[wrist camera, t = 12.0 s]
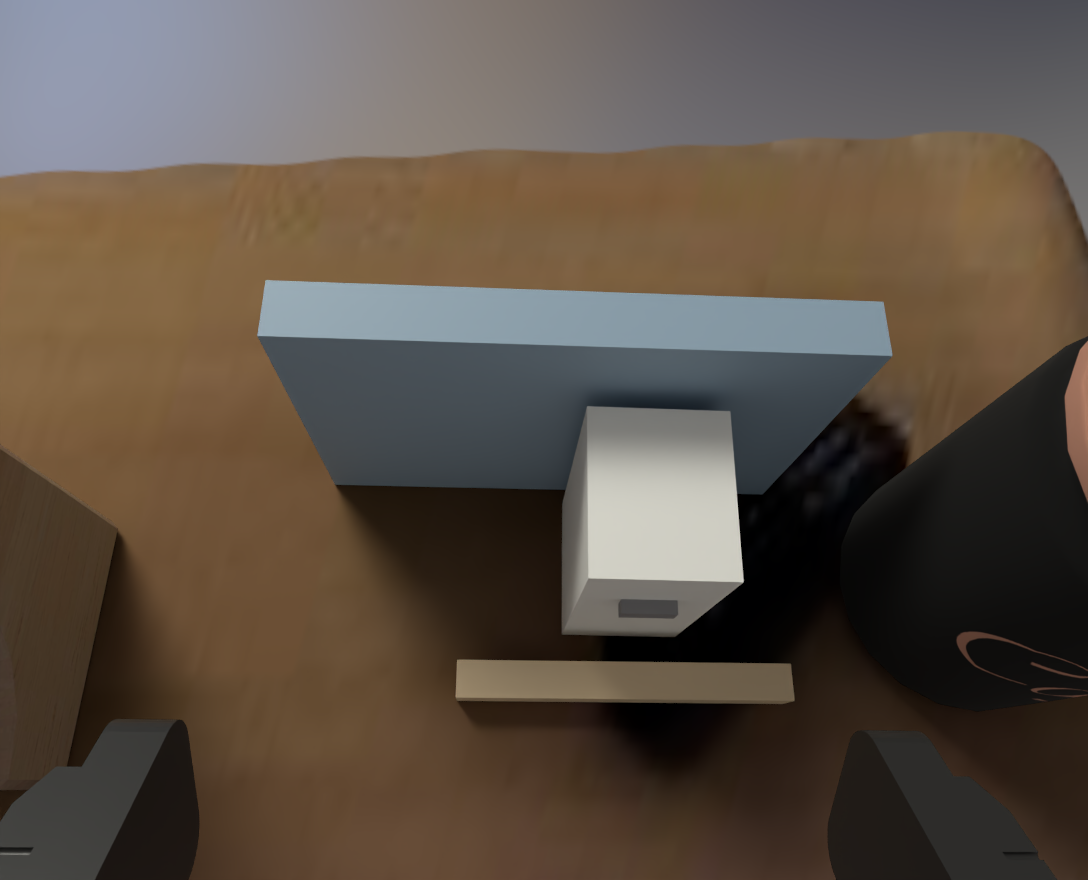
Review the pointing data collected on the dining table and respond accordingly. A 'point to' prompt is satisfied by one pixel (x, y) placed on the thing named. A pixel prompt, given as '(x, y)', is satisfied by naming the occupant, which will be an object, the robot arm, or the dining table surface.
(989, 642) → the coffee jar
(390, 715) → the dining table surface
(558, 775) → the dining table surface
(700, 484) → the cabinet
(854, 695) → the dining table surface
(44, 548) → the decorative block
